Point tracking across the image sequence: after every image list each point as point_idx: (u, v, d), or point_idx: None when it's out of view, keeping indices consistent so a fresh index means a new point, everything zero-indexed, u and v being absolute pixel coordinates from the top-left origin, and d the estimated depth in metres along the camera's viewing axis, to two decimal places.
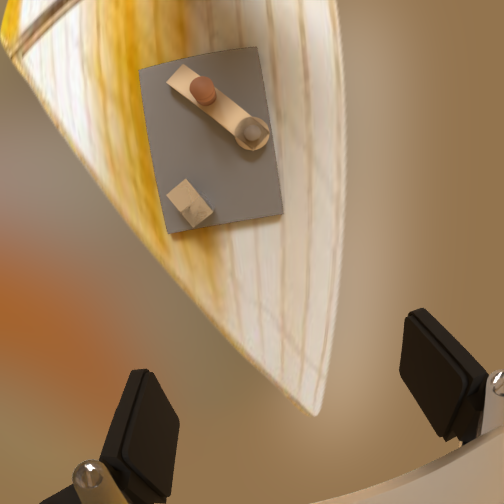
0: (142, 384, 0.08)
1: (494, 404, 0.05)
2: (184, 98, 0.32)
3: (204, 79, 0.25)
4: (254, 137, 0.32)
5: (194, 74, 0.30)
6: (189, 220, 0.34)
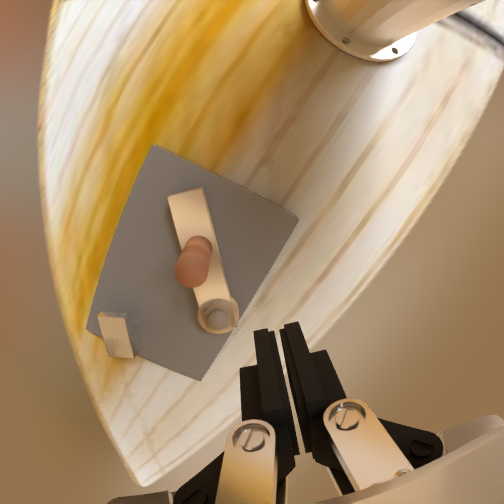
0: (271, 341, 0.10)
1: (348, 441, 0.05)
2: None
3: (200, 266, 0.21)
4: (216, 327, 0.27)
5: (204, 213, 0.25)
6: (108, 349, 0.27)
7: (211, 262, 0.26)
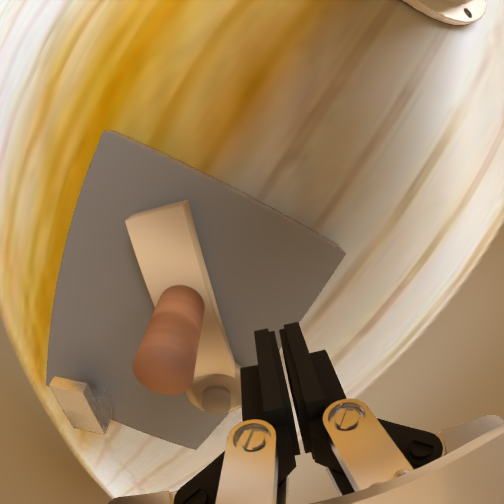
0: (272, 341, 0.10)
1: (348, 442, 0.05)
2: None
3: (179, 366, 0.10)
4: (214, 411, 0.17)
5: (188, 248, 0.14)
6: (71, 420, 0.17)
7: (203, 325, 0.16)
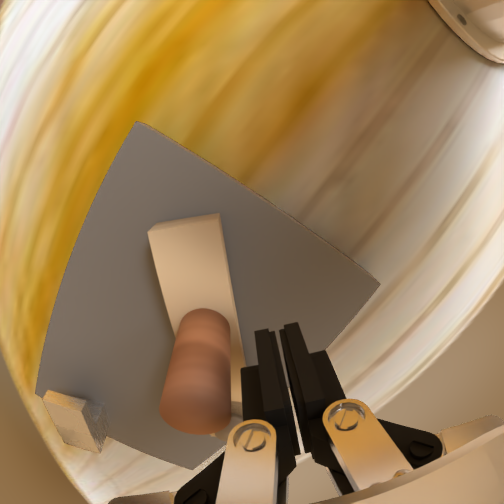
0: (272, 341, 0.10)
1: (348, 442, 0.05)
2: None
3: (216, 408, 0.09)
4: (227, 439, 0.15)
5: (220, 269, 0.13)
6: (63, 436, 0.14)
7: None
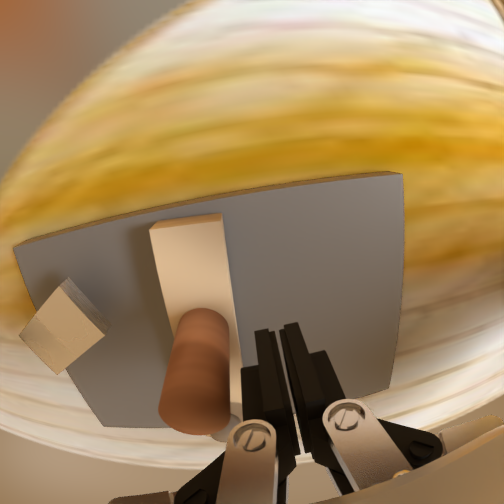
0: (272, 341, 0.10)
1: (348, 442, 0.05)
2: (312, 288, 0.15)
3: (216, 409, 0.08)
4: (222, 439, 0.15)
5: (221, 269, 0.13)
6: (27, 330, 0.11)
7: None
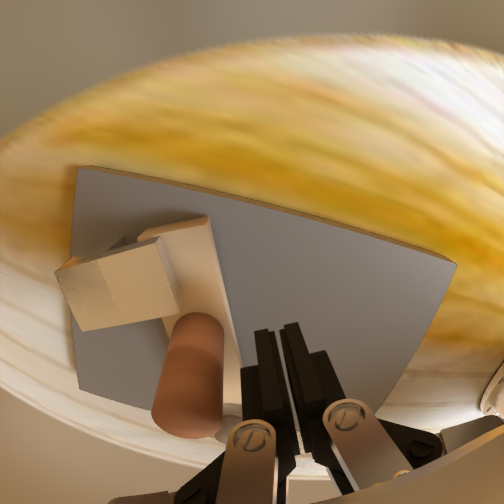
0: (272, 341, 0.10)
1: (348, 442, 0.05)
2: (359, 328, 0.16)
3: (207, 412, 0.08)
4: None
5: (210, 272, 0.12)
6: (72, 272, 0.11)
7: None
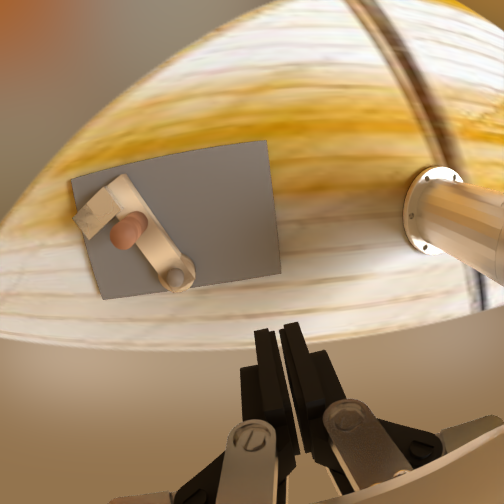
0: (272, 341, 0.10)
1: (348, 442, 0.05)
2: (220, 196, 0.31)
3: (127, 229, 0.24)
4: (175, 284, 0.30)
5: (130, 192, 0.28)
6: (78, 214, 0.26)
7: (151, 229, 0.29)
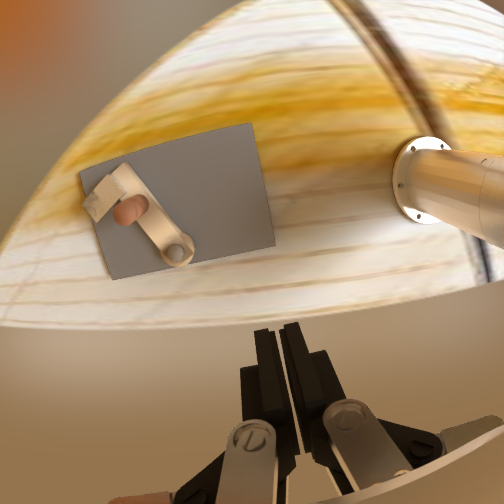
0: (272, 341, 0.10)
1: (348, 442, 0.05)
2: (213, 176, 0.33)
3: (127, 207, 0.27)
4: (176, 258, 0.33)
5: (131, 177, 0.31)
6: (86, 200, 0.30)
7: (151, 210, 0.32)
